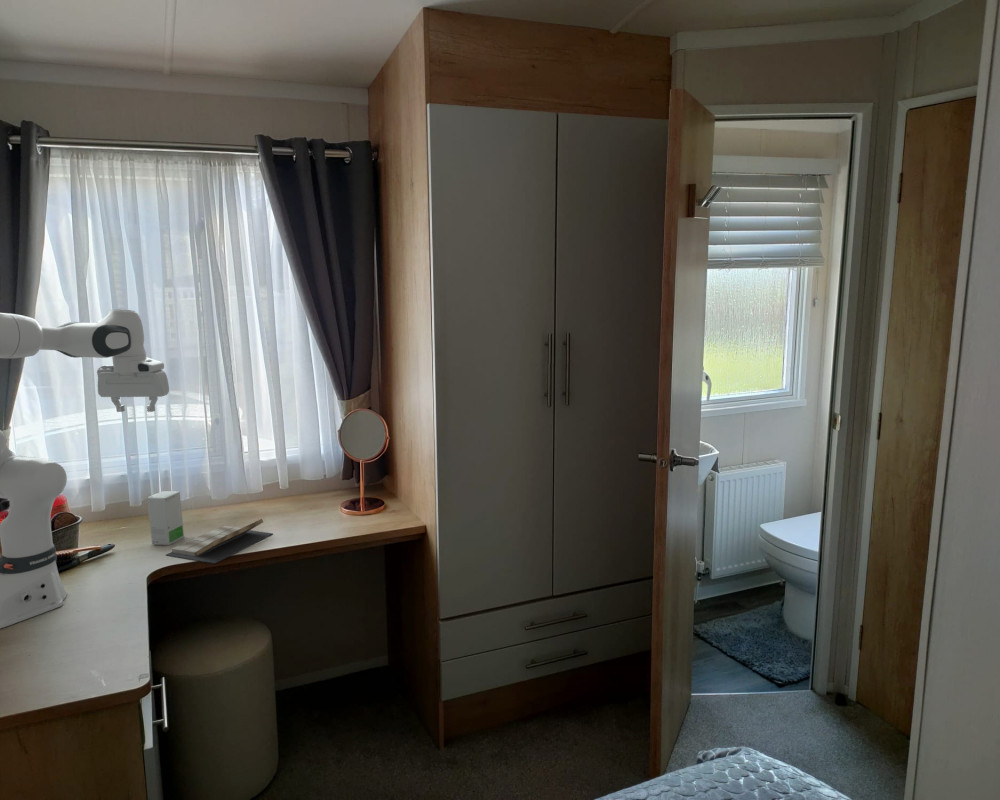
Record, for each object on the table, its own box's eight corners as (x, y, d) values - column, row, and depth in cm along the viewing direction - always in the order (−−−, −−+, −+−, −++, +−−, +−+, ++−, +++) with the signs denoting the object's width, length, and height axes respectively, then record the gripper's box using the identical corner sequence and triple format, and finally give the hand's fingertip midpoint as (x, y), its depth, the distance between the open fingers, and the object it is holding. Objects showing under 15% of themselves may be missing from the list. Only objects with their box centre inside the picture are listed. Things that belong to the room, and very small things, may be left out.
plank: (213, 545, 213) (211, 542, 213) (197, 555, 217) (195, 551, 217) (263, 522, 234) (261, 518, 234) (247, 531, 237) (245, 528, 237)
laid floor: (194, 556, 217) (194, 552, 217) (172, 552, 220) (171, 548, 220) (245, 532, 237) (245, 528, 237) (223, 529, 240) (223, 525, 240)
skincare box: (168, 546, 227) (164, 498, 224) (150, 544, 228) (145, 497, 225) (185, 536, 235) (180, 490, 232) (167, 535, 236) (162, 489, 233)
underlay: (214, 563, 212) (214, 562, 212) (165, 555, 219) (165, 554, 219) (272, 534, 236) (272, 533, 235) (226, 527, 242) (226, 526, 242)
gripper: (89, 366, 207) (95, 413, 210) (157, 366, 205) (162, 413, 208) (103, 363, 213) (109, 409, 216) (169, 363, 211) (174, 409, 214)
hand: (136, 411), depth 212 cm, fingers open, 8 cm apart
